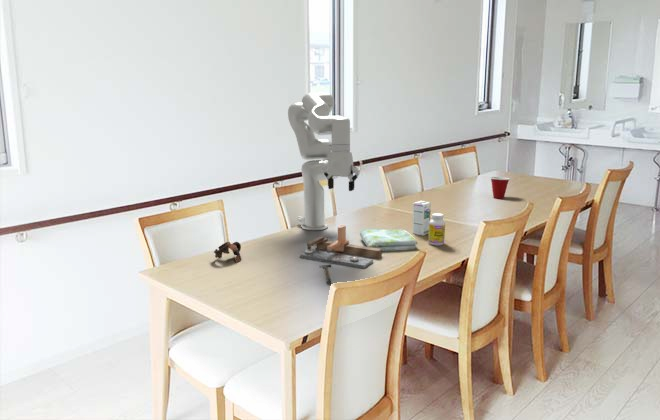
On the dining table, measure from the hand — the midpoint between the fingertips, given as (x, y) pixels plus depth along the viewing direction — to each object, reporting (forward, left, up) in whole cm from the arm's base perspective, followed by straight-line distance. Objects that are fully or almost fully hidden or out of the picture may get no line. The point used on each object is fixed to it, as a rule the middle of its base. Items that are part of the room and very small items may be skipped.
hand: (341, 189), depth 240 cm
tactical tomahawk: (+11, -36, -25) cm, 45 cm away
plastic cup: (+39, +123, -24) cm, 132 cm away
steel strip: (+7, -19, -24) cm, 31 cm away
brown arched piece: (-30, -37, -24) cm, 53 cm away
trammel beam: (+7, -13, -24) cm, 28 cm away
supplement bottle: (+35, +20, -24) cm, 47 cm away
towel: (+17, +10, -25) cm, 32 cm away
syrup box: (+24, +32, -24) cm, 47 cm away
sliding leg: (+4, -12, -23) cm, 26 cm away
